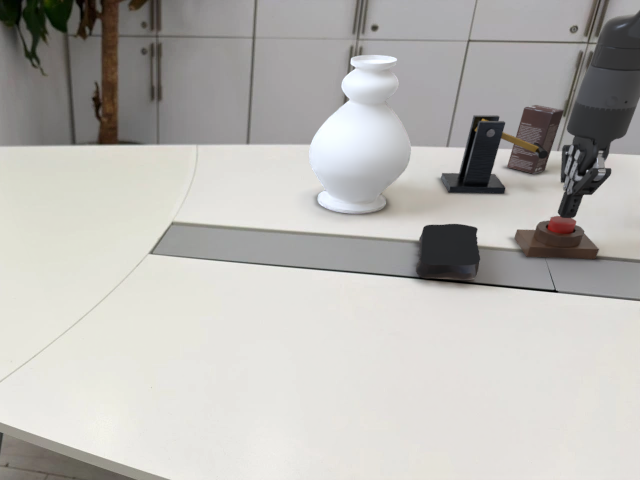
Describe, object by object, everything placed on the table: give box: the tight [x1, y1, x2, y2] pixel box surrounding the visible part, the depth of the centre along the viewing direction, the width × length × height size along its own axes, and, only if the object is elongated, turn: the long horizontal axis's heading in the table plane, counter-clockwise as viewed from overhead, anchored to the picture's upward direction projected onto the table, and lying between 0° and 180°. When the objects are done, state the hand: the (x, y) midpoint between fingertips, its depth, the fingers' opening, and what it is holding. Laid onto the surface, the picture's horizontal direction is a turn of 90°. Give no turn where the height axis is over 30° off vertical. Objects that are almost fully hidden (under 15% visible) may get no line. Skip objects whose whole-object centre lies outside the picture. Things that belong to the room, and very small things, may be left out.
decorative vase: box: [308, 54, 412, 215], centre depth 122 cm, size 18×18×25 cm
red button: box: [547, 215, 577, 234], centre depth 107 cm, size 4×4×2 cm
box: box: [507, 104, 565, 175], centre depth 136 cm, size 6×4×12 cm
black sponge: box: [415, 223, 481, 281], centre depth 105 cm, size 16×8×4 cm, turn 159°
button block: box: [514, 220, 600, 260], centre depth 108 cm, size 10×7×4 cm
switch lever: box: [475, 119, 548, 159], centre depth 127 cm, size 13×5×2 cm, turn 81°
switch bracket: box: [440, 114, 506, 195], centre depth 129 cm, size 10×8×13 cm
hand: (565, 215), depth 106 cm, fingers closed
